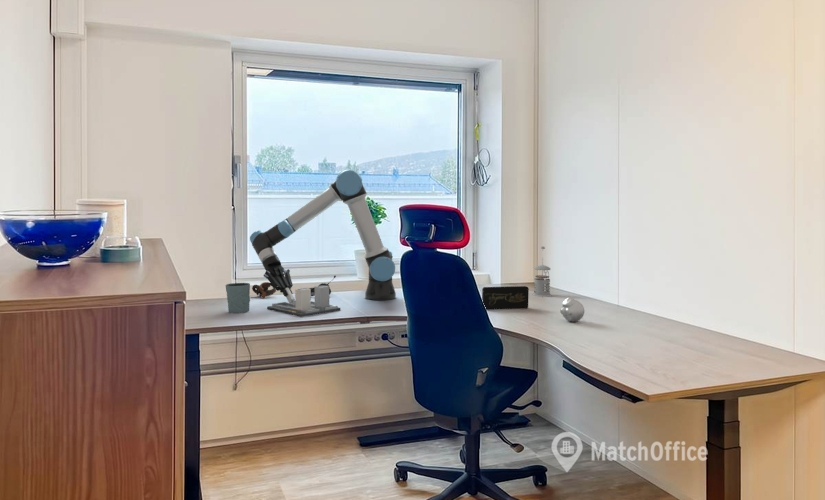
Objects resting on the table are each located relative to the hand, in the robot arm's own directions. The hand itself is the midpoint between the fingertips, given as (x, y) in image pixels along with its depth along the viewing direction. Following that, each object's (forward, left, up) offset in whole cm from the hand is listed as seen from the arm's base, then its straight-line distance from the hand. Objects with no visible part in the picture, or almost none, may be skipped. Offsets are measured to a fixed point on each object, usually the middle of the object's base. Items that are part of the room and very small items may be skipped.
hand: (292, 301), depth 260 cm
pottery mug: (+13, -41, -5) cm, 44 cm away
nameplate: (-93, +13, -5) cm, 94 cm away
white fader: (-5, +6, -3) cm, 8 cm away
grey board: (-5, -1, -4) cm, 7 cm away
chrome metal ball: (-109, +45, -4) cm, 118 cm away
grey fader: (-13, +1, -3) cm, 13 cm away
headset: (-13, -41, -5) cm, 43 cm away
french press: (-126, -20, -4) cm, 128 cm away
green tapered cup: (+23, -3, -4) cm, 23 cm away
